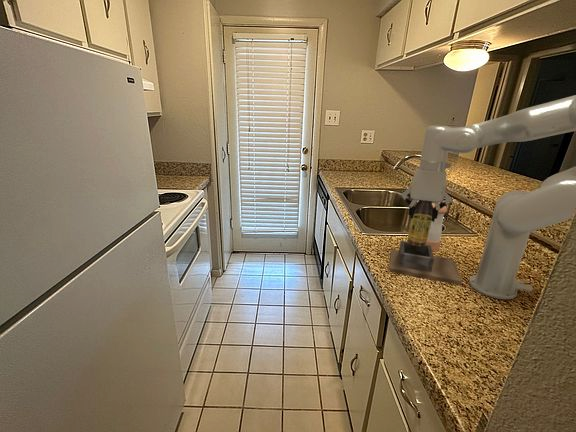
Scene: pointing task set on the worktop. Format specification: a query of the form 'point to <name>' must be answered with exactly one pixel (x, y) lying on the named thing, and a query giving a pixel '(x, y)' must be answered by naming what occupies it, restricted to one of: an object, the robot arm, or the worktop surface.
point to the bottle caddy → (423, 264)
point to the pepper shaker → (436, 229)
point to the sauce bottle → (420, 223)
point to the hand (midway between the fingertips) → (421, 218)
